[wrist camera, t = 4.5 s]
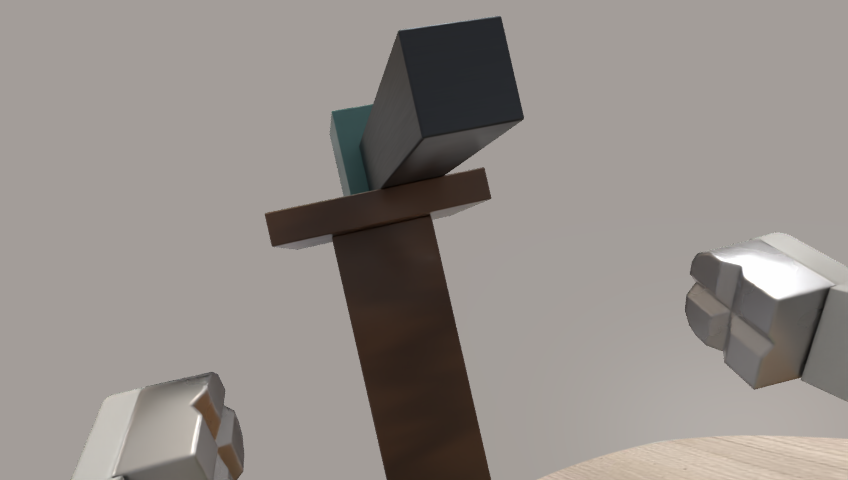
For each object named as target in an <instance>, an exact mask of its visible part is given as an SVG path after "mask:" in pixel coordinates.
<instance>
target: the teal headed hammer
mask: <svg viewBox="0 0 848 480" xmlns="http://www.w3.org/2000/svg"><path fill="white" fill-rule="evenodd" d="M523 119H524V116H523V111H522V107H521V103H520V98H519V94H518V89H517V85H516V81H515V77H514V72H513V68H512V63H511V59H510V54H509V50H508V45H507V41H506V36H505V32H504V28H503V23H502V19H501V17H500V16H495V17H488V18H481V19H474V20H467V21H460V22H453V23H446V24H439V25H431V26H425V27H418V28H410V29H404V30H399V31H398V34H397V36H396V39H395V42H394V45H393V48H392V51H391V54H390V57H389V60H388V63H387V66H386V69H385V71H384V74H383V77H382V80H381V83H380V86H379V89H378V92H377V95H376V98H375V101H374V104H371V105H365V106H359V107H354V108H347V109H342V110H335V111H332V116H331V128H330V137H331V141H332V146H333V151H334V155H335V159H336V164H337V168H338V172H339V177H340V181H341V186H342V190H343V194H344V196H349V195H354V194H358V193H363V192H368V191H373V190H377V189H382V188H387V187H392V186H396V185H401V184H406V183H411V182H415V181H420V180H425V179H430V178H434V177H439V176H444V175H445V174H447V173H448V172H450V171H451V170H452V169H454V168H455V167H457V166H458V165H460V164H461V163H462V162H464V161H465V160H467V159H468V158H469V157H471V156H472V155H474V154H475V153H477V152H478V151H479V150H481V149H482V148H484V147H485V146H486V145H488V144H489V143H491V142H492V141H493V140H495V139H496V138H498V137H499V136H501V135H502V134H504V133H505V132H506V131H508V130H509V129H511V128H512V127H513V126H515V125H516V124H518V123H519V122H520V121H522V120H523Z"/></svg>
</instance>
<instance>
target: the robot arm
mask: <svg viewBox="0 0 848 480" xmlns="http://www.w3.org/2000/svg"><path fill="white" fill-rule="evenodd" d="M690 275H691V276H692V277H693V279H694V280H695V281H696V283H695V284H694V286H693V287H692V288H691V290H690V291H689V292H688V294H687V296H686V305H685V312H686V316H687V319H688V322H689V325H690V327H691V328H692V330H693V332H694V333H695V335H696V336H697V337H698V338H699V339H700V340H701V341H702V342H703V343H704V344H705V345H707V346H710V347H712V348H715V349H718V350H721V351H723V354H724V362H725V363H726V364H727V365H728V366H729V367H730V368H731V369H732V370H733V371H734V372H736V373H737V374H738V375H739V376H740V377H741V378H742V379H743V380H744V381H745V382H746V383H748V384H749V385H750V386H751V387H752V388H753V389H758V388H762V387H766V386H769V385H774V384H777V383H781V382H785V381H789V380H793V379H797V378H801V380H802V381H804V382H806V383H808V384H810V385H813V386H815V387H817V388H819V389H821V390H823V391H825V392H828V393H830V394H832V395H834V396H836V397H839V398H841V399H843V400H845V401H847V402H848V267H846V266H845V265H843V264H841V263H839V262H837V261H835V260H834V259H832V258H830V257H828V256H826V255H825V254H823V253H821V252H819V251H817V250H816V249H814V248H812V247H810V246H808V245H807V244H805V243H803V242H801V241H799V240H797V239H796V238H794V237H792V236H790V235H788V234H784V233H778V232H775V233H772V234H768V235H765V236H760V237H757V238H753V239H750V240H749V241H745V242H741V243H737V244H733V245H729V246H725V247H721V248H717V249H713V250H709V251H705V252H701V253H698V254H697V255H696V256H695V258H694V259H693V261H692V265H691V271H690ZM224 397H225V388H224V386H223V384H222V382H221V380H220V378H219V376H218V374H215V373H214V372H209V373H205V374H201V375H196V376H191V377H187V378H182V379H178V380H173V381H169V382H165V383H160V384H156V385H151V386H146V387H145V388H139V389H135V390H131V391H126V392H122V393H118V394H113V395H110V396H109V397H108V398H107V399H105V400H104V401H103V403H102V405H101V407H100V410H99V412H98V415H97V417H96V419H95V422H94V425H93V427H92V429H91V432H90V434H89V437H88V439H87V441H86V444H85V446H84V449H83V451H82V454H81V456H80V459H79V461H78V463H77V466H76V468H75V471H74V473H73V476H72V478H71V480H237V479H238V478H239V476H240V475H241V473H242V472H243V467H244V448H243V438H242V432H241V429H240V425H239V421H238V419H237V417H236V414H235V412H234V410H232V409H230V408H228V407H226V406H224Z"/></svg>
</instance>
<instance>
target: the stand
mask: <svg viewBox="0 0 848 480" xmlns="http://www.w3.org/2000/svg"><path fill="white" fill-rule="evenodd" d="M489 199H491V195H490V190H489V186H488V182H487V177H486V173H485V168H484V167H482V168H477V169H472V170H468V171H463V172H458V173H454V174H449V175H444V176H439V177H434V178H430V179H425V180H420V181H415V182H411V183H406V184H401V185H396V186H392V187H387V188H382V189H377V190H373V191H368V192H363V193H358V194H354V195H349V196H344V197H339V198H335V199H330V200H325V201H320V202H316V203H311V204H307V205H302V206H297V207H292V208H287V209H283V210H278V211H273V212H268V213H265V217H266V222H267V226H268V231H269V235H270V240H271V244H272V246H273V247H281V248H289V249H297V250H298V249H302V248H306V247H311V246H316V245H320V244H325V243H329V242H333V245H334V249H335V254H336V258H337V262H338V267H339V271H340V276H341V280H342V284H343V289H344V293H345V297H346V302H347V306H348V311H349V315H350V320H351V324H352V328H353V332H354V337H355V342H356V346H357V350H358V355H359V359H360V364H361V368H362V372H363V377H364V381H365V386H366V390H367V395H368V399H369V403H370V407H371V412H372V417H373V421H374V425H375V430H376V434H377V439H378V443H379V447H380V452H381V456H382V461H383V465H384V470H385V474H386V478H387V480H491V477H490V473H489V469H488V464H487V460H486V456H485V451H484V447H483V442H482V438H481V434H480V429H479V425H478V421H477V416H476V411H475V407H474V403H473V399H472V394H471V389H470V385H469V381H468V376H467V372H466V367H465V363H464V358H463V354H462V350H461V345H460V341H459V336H458V332H457V328H456V324H455V319H454V314H453V310H452V306H451V302H450V297H449V292H448V289H447V283H446V279H445V275H444V271H443V266H442V262H441V257H440V253H439V248H438V244H437V239H436V235H435V231H434V226H433V222H432V220H433V219H437V218H442V217H446V216H451V215H453V214H456V213H458V212H460V211H463V210H465V209H468V208H470V207H472V206H475V205H477V204H479V203H482V202H484V201H487V200H489Z"/></svg>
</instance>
